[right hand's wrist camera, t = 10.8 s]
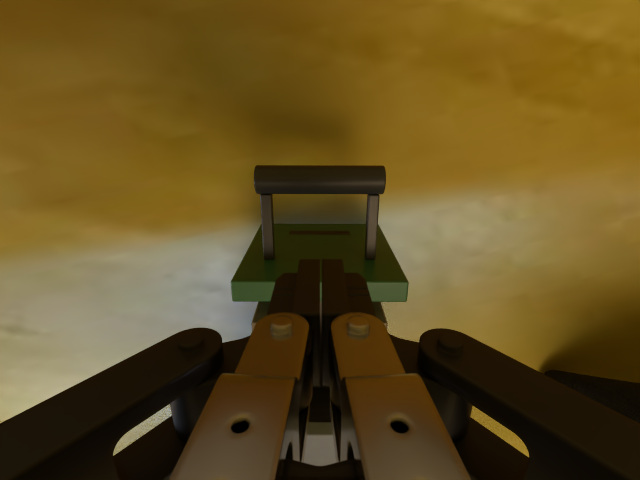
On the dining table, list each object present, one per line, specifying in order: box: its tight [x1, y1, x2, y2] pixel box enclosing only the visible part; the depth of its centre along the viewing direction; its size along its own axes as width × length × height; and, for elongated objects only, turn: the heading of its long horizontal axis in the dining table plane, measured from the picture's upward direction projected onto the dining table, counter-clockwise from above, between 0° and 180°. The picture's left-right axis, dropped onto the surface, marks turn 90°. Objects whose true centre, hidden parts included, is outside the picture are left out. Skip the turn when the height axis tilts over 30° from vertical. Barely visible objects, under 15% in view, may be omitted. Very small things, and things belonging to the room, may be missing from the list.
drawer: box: [231, 165, 409, 422], centre depth 24 cm, size 21×9×10 cm, turn 0°
